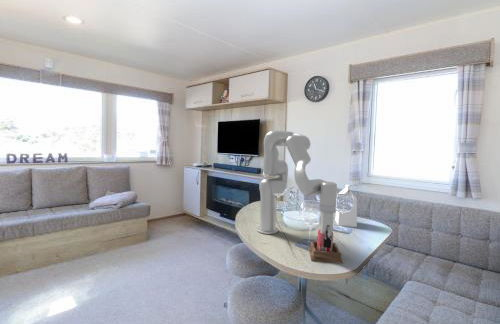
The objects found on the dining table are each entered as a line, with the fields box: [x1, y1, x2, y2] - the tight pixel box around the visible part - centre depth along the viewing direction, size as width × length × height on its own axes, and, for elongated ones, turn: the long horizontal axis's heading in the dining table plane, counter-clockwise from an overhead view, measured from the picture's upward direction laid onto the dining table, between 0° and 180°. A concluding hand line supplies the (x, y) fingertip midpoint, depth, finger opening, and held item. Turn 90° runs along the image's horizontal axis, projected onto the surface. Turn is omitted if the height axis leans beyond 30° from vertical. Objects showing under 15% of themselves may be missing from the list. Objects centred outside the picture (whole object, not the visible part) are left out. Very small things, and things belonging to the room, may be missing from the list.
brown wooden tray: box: [308, 240, 344, 264], centre depth 124 cm, size 14×14×4 cm
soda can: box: [316, 229, 334, 252], centre depth 124 cm, size 7×7×12 cm
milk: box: [334, 184, 358, 228], centre depth 173 cm, size 12×12×26 cm
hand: (325, 243), depth 124 cm, fingers open, 9 cm apart
